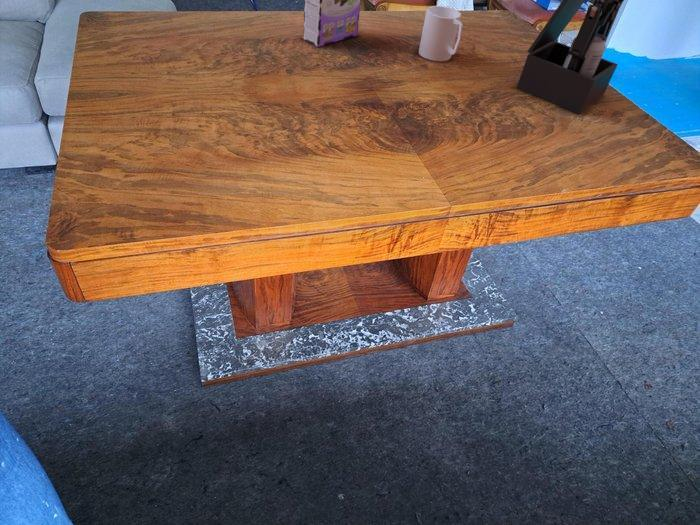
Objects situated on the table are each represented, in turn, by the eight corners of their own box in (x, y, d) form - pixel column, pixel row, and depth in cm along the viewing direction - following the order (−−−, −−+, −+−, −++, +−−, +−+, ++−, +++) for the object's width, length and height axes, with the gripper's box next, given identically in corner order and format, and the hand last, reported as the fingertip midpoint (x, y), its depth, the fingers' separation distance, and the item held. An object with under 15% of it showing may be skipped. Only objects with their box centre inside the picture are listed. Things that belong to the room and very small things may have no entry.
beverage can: (561, 79, 120) (583, 27, 112) (589, 90, 117) (613, 37, 109) (550, 88, 116) (571, 34, 108) (578, 99, 113) (602, 45, 105)
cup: (440, 69, 121) (449, 26, 114) (412, 49, 128) (419, 7, 121) (466, 65, 124) (478, 22, 117) (438, 45, 131) (447, 4, 124)
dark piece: (602, 96, 119) (618, 64, 114) (578, 114, 111) (594, 80, 106) (542, 72, 126) (554, 40, 120) (516, 88, 118) (527, 54, 112)
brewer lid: (606, -28, 107) (574, -53, 109) (579, -18, 99) (546, -44, 101) (556, 39, 120) (529, 17, 122) (529, 53, 112) (500, 29, 114)
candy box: (342, 28, 134) (348, -42, 122) (358, 36, 131) (365, -35, 119) (302, 39, 126) (304, -35, 114) (317, 47, 123) (321, -28, 112)
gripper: (622, -19, 92) (571, 100, 108) (656, -34, 103) (606, 75, 119) (583, -30, 95) (539, 86, 111) (621, -44, 106) (576, 64, 122)
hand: (573, 80), depth 115 cm, fingers closed on beverage can, 7 cm apart
